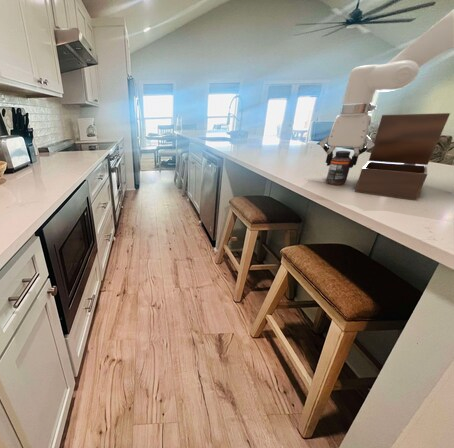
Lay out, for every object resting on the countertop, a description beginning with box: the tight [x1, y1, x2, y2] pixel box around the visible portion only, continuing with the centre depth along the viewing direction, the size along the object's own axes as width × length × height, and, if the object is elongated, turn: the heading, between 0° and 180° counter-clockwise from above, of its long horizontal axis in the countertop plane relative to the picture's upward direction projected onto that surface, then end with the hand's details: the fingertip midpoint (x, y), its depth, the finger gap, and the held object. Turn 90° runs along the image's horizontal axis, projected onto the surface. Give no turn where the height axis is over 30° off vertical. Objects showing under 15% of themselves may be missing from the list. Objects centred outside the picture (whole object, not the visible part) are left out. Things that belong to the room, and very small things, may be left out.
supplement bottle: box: [325, 150, 352, 186], centre depth 86 cm, size 6×6×11 cm
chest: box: [354, 161, 428, 201], centre depth 77 cm, size 14×14×8 cm
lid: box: [368, 112, 451, 166], centre depth 75 cm, size 15×14×1 cm
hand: (339, 165), depth 86 cm, fingers closed on supplement bottle, 6 cm apart
